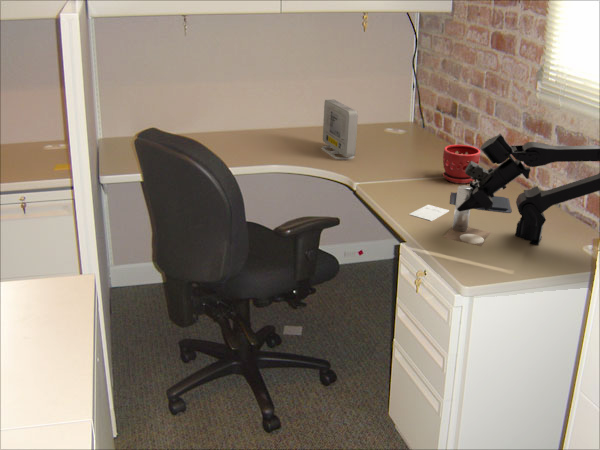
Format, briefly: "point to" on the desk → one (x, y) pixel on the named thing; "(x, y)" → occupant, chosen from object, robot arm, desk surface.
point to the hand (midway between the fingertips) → (457, 207)
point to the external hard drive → (429, 212)
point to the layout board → (468, 236)
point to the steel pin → (463, 216)
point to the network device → (339, 129)
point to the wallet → (498, 205)
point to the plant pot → (459, 162)
